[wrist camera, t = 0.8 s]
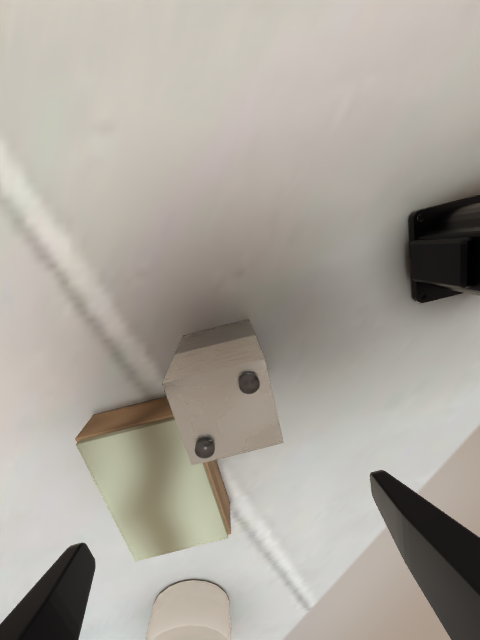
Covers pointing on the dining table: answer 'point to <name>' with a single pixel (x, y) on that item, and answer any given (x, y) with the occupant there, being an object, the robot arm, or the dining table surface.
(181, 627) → the bottle
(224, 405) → the block
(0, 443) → the dining table surface
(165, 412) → the riser
